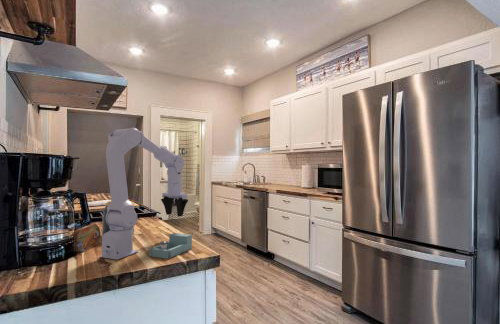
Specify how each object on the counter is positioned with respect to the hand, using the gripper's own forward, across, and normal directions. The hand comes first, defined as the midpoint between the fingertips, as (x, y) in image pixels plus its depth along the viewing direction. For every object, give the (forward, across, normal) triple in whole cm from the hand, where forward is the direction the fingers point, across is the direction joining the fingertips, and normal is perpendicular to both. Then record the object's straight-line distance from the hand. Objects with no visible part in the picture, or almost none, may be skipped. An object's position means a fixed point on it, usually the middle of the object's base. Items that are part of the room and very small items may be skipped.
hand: (174, 215), depth 122 cm
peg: (+10, -16, +17) cm, 25 cm away
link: (+10, -15, +13) cm, 23 cm away
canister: (+10, +25, +12) cm, 29 cm away
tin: (+10, +14, +29) cm, 34 cm away
